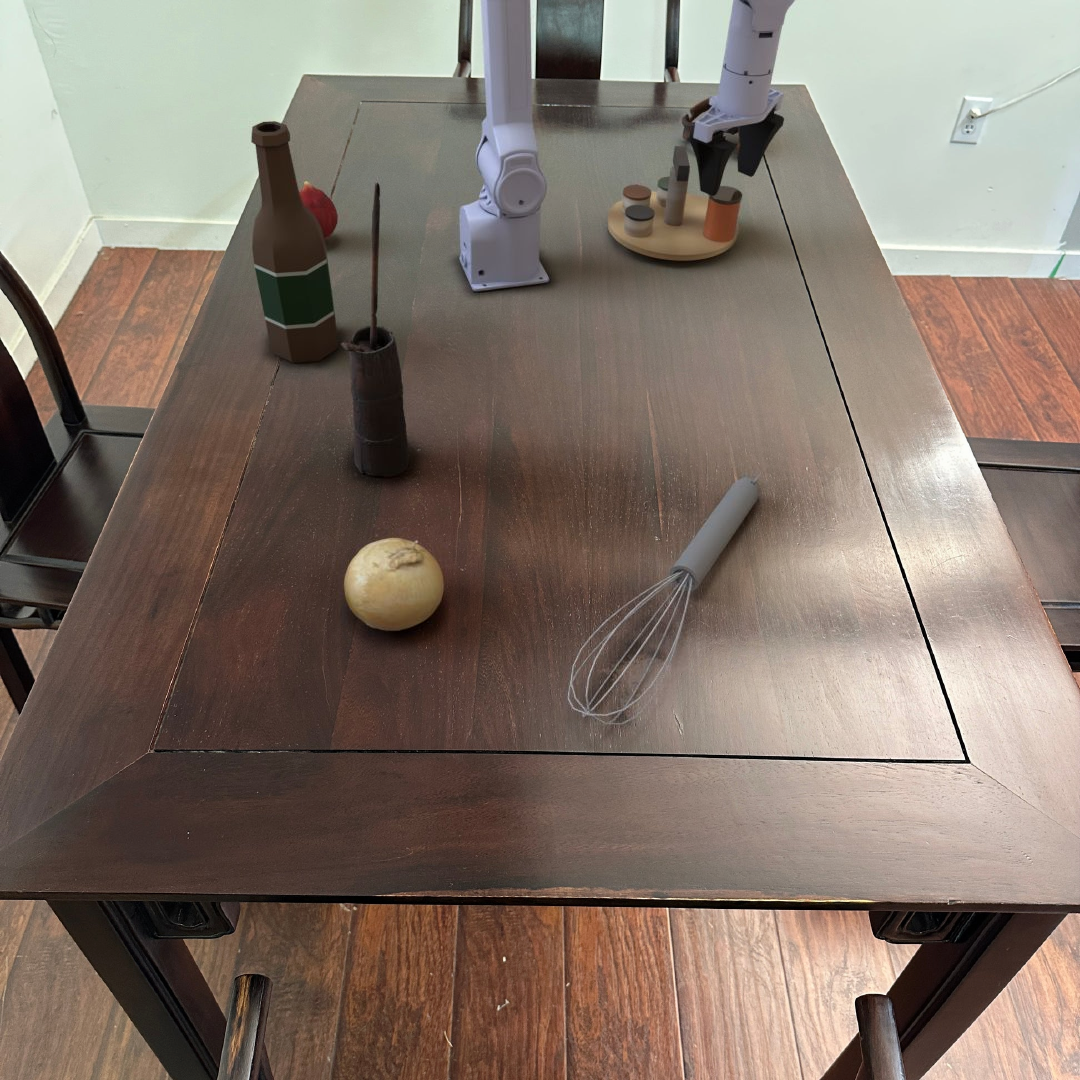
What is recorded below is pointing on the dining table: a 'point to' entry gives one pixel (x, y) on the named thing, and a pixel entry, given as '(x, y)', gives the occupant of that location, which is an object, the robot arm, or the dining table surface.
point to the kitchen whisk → (683, 579)
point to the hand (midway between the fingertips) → (727, 182)
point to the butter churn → (377, 386)
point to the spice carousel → (665, 218)
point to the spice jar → (722, 214)
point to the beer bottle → (290, 256)
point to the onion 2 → (393, 584)
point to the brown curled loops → (695, 112)
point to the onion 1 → (320, 208)
